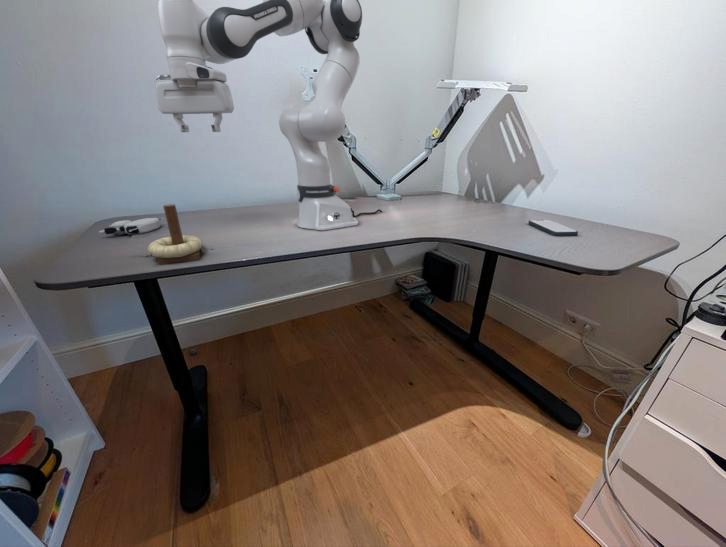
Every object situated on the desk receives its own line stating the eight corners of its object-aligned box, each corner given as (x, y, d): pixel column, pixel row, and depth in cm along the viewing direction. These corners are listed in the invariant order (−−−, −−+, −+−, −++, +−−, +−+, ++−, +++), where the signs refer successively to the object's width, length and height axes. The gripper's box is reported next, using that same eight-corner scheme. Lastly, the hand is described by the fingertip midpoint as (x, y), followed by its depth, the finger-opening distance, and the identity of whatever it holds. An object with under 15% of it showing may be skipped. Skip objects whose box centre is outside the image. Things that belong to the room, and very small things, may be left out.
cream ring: (203, 242, 89) (201, 232, 88) (201, 255, 79) (199, 244, 78) (154, 247, 84) (151, 236, 83) (146, 262, 74) (142, 250, 73)
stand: (201, 249, 88) (191, 200, 83) (199, 259, 80) (187, 207, 75) (164, 253, 85) (151, 203, 79) (158, 264, 77) (144, 210, 72)
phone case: (579, 236, 103) (548, 223, 118) (580, 231, 102) (549, 219, 117) (553, 237, 102) (526, 224, 117) (555, 232, 102) (527, 219, 116)
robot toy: (99, 242, 96) (146, 238, 96) (93, 227, 94) (141, 224, 94) (127, 231, 107) (169, 228, 107) (122, 218, 106) (165, 215, 105)
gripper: (144, 72, 80) (158, 132, 85) (218, 70, 77) (228, 131, 83) (161, 77, 85) (174, 132, 91) (231, 74, 83) (240, 131, 88)
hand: (200, 132), depth 87 cm, fingers open, 8 cm apart
